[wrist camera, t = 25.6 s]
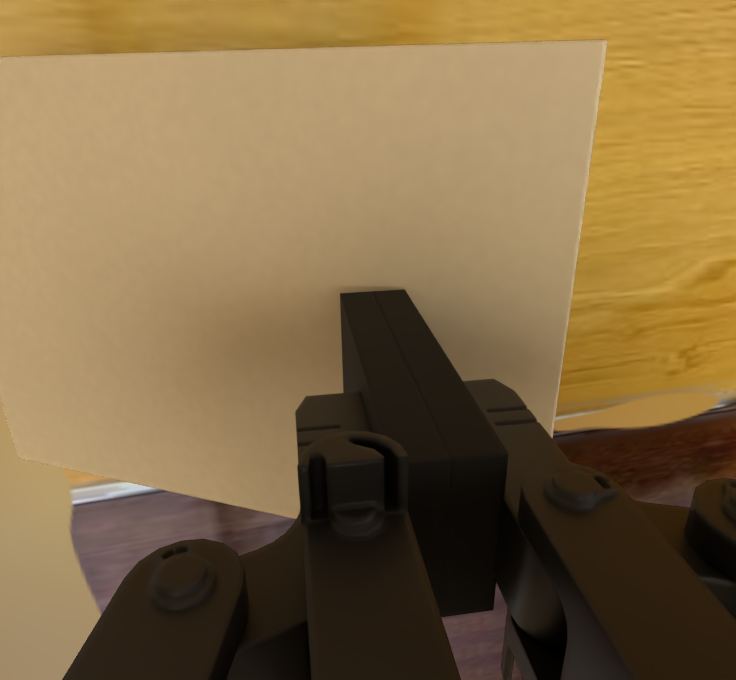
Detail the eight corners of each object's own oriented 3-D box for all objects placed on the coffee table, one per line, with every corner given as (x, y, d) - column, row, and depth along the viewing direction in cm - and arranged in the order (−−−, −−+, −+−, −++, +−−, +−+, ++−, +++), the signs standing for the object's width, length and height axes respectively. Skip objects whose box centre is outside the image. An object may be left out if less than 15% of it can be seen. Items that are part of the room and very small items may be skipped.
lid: (605, 41, 11) (607, 38, 10) (535, 551, 16) (534, 572, 15) (-74, 60, 16) (-103, 59, 15) (35, 446, 21) (17, 458, 20)
